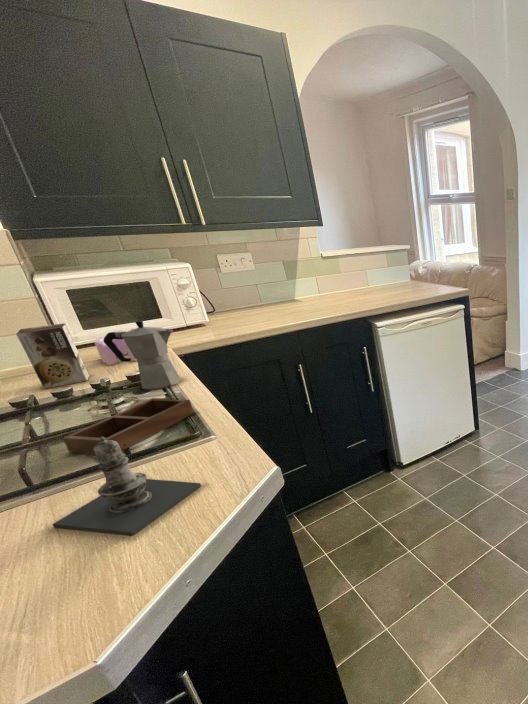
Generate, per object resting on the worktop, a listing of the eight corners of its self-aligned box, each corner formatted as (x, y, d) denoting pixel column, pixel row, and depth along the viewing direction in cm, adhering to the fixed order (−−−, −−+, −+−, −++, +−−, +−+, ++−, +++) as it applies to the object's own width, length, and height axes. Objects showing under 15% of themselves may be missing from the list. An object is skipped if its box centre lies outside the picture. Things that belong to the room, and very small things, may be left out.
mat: (53, 527, 63) (51, 524, 63) (131, 480, 74) (130, 477, 74) (132, 535, 61) (131, 532, 61) (201, 486, 72) (200, 483, 72)
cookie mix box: (89, 375, 125) (66, 322, 119) (87, 381, 121) (63, 326, 115) (46, 383, 120) (20, 328, 114) (42, 389, 116) (14, 332, 109)
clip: (111, 351, 148) (103, 332, 146) (155, 345, 154) (148, 326, 152) (97, 366, 133) (88, 345, 130) (147, 359, 139) (139, 339, 136)
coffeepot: (194, 374, 124) (174, 314, 117) (184, 385, 115) (161, 322, 109) (131, 382, 119) (106, 320, 112) (115, 394, 111) (87, 328, 104)
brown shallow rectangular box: (69, 453, 83) (62, 438, 82) (158, 411, 100) (152, 398, 99) (112, 456, 82) (105, 440, 80) (194, 413, 99) (189, 399, 98)
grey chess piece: (145, 486, 71) (118, 424, 66) (160, 497, 68) (133, 432, 64) (100, 506, 66) (68, 440, 62) (115, 518, 63) (82, 450, 59)
